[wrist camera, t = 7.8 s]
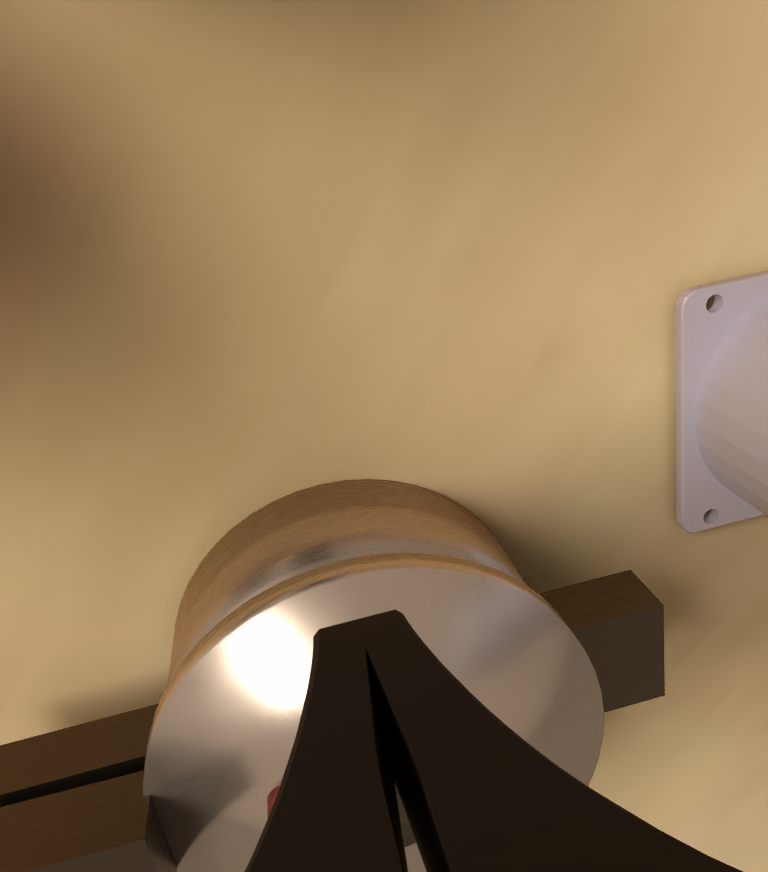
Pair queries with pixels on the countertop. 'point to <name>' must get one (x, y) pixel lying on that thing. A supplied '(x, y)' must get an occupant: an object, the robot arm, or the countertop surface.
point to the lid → (282, 707)
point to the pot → (324, 544)
